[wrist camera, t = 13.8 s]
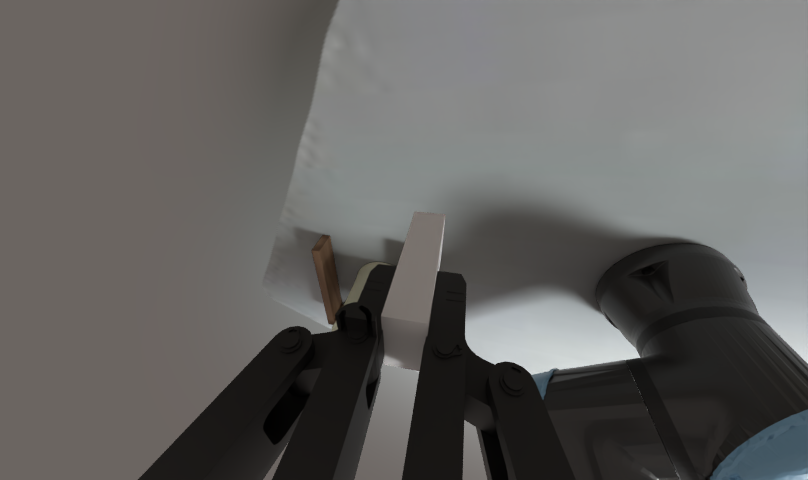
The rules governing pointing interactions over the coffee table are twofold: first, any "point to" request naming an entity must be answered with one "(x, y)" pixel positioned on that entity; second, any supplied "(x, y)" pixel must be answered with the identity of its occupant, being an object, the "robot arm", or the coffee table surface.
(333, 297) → the bay
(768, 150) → the coffee table surface
